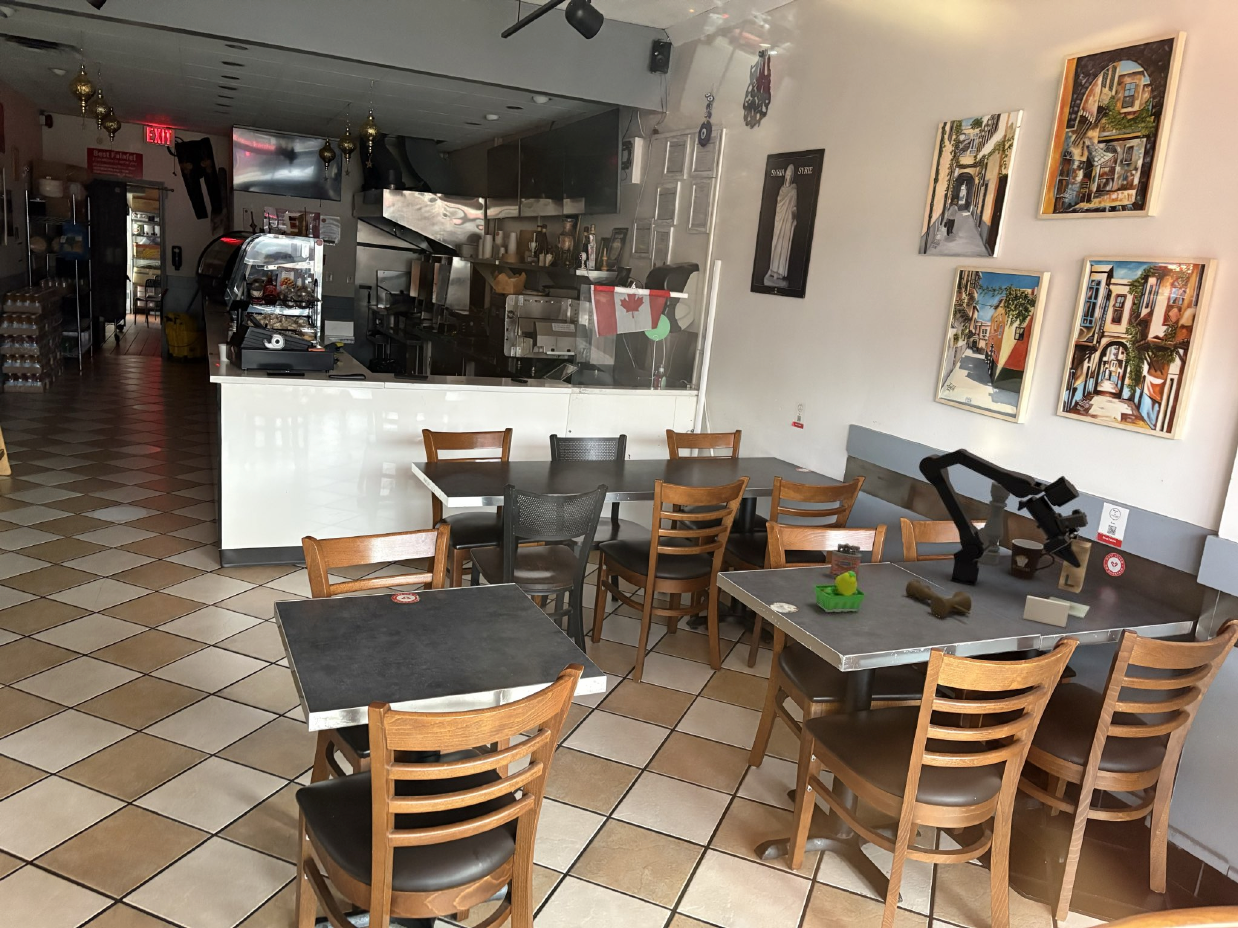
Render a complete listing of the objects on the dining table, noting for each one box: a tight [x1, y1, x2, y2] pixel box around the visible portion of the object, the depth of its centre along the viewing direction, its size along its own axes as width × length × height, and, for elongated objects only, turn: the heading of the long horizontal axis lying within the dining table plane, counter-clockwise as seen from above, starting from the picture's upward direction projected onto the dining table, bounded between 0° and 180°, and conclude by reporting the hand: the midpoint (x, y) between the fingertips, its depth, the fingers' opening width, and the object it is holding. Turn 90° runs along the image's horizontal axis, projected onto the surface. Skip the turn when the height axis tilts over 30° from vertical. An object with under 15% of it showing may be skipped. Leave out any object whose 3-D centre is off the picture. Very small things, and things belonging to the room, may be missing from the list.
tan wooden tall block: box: [1058, 539, 1092, 594], centre depth 241 cm, size 5×5×13 cm
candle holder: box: [977, 481, 1011, 566], centre depth 276 cm, size 6×6×25 cm
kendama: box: [905, 579, 972, 618], centre depth 235 cm, size 6×10×20 cm
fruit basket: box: [813, 571, 866, 610], centre depth 228 cm, size 11×9×11 cm
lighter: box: [828, 542, 863, 582], centre depth 252 cm, size 8×3×10 cm, turn 73°
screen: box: [1022, 595, 1070, 628], centre depth 232 cm, size 10×1×6 cm, turn 67°
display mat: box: [1047, 596, 1091, 619], centre depth 244 cm, size 10×10×1 cm
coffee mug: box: [1009, 538, 1056, 580], centre depth 266 cm, size 12×9×10 cm
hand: (1080, 564), depth 241 cm, fingers closed on tan wooden tall block, 5 cm apart
